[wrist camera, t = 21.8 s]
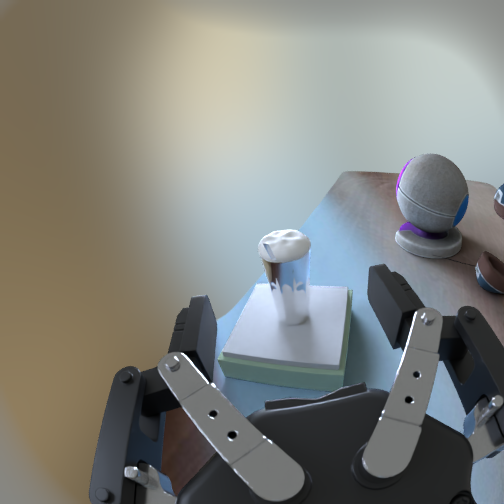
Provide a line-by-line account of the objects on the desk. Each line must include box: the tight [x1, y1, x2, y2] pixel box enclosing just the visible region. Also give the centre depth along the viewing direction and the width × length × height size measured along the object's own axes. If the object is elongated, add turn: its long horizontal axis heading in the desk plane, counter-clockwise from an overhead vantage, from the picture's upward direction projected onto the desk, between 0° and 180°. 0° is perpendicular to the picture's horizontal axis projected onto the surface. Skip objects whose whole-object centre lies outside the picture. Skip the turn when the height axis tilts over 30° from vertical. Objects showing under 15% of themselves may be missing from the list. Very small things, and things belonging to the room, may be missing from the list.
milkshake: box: [258, 230, 311, 325], centre depth 25 cm, size 4×5×10 cm
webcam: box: [395, 154, 469, 258], centre depth 38 cm, size 13×13×15 cm
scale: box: [218, 283, 352, 392], centre depth 29 cm, size 12×12×4 cm
